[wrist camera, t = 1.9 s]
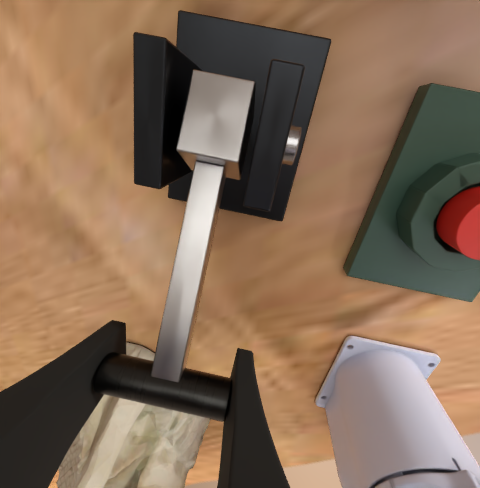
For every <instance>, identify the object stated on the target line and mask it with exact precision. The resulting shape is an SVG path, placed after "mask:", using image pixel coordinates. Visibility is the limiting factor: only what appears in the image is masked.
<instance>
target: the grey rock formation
mask: <svg viewBox="0 0 480 488" xmlns="http://www.w3.org/2000/svg"><path fill="white" fill-rule="evenodd" d="M126 355H130V356H134V357H138V358H143V359H147V360H152V361H154V357H155V353H153V352H152V351H150V350H148V349H146V348H144V347H142V346H140V345H136V344H132V343H129V342H126ZM210 420H211V419H209V418H204V417H200V416H196V415H191V414H187V413H183V412H178V411H174V410H169V409H165V408H161V407H156V406H152V405H148V404H143V403H139V402H135V401H130V400H126V399H122V398H117V397H113V396H109V395H104V396H103V397H102V399H101V400H100V402H99V403H98V405H97V406H96V408H95V409H94V411H93V412H92V414H91V415H90V417H89V418H88V420H87V421H86V423H85V424H84V426H83V427H82V429H81V430H80V432H79V433H78V435H77V437H76V438H75V440H74V442H73V443H72V445H71V447H70V448H69V450H68V452H67V454H66V455H65V457H64V459H63V461H62V463H61V465H60V466H59V468H58V470H59V472H60V473H59V478H58V481H57V486H58V488H184V487H185V480H186V477H187V473H188V471H189V469H191V468H193V466H194V464H195V462H196V458H197V454H198V451H199V446H200V445H201V444H202V440H203V436H204V433H205V430H206V429H207V427H208V424H209V421H210Z"/></svg>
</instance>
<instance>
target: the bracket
mask: <svg viewBox="0 0 480 488" xmlns="http://www.w3.org/2000/svg"><path fill="white" fill-rule="evenodd" d="M133 37H134V183H135V184H137V185H142V186H147V187H151V188H156V189H161V188H163V187H165V186H167V185H169V190H168V198H172V199H177V200H181V201H186V202H187V199H188V194H189V189H190V185H191V180H192V175H193V170H191V169H190V168H189V166H188V165H187V164H186V162H185V161H184V160H183V158H182V157H181V156H180V154H179V153H178V152H177V150H176V147H177V142H178V137H179V132H180V128H181V123H182V118H183V113H184V109H185V104H186V99H187V94H188V89H189V85H190V80H191V75H192V71H193V70H199V71H204V72H209V73H214V74H219V75H225V76H230V77H235V78H240V79H245V80H250V81H254V82H255V83H256V88H255V105H254V119H253V124H252V128H251V133H250V138H249V143H248V147H247V152H246V157H245V162H244V166H243V171H242V176H241V179H240V180H237V179H232V178H227V177H226V179H225V184H224V189H223V193H222V198H221V203H220V209H224V210H229V211H234V212H239V213H244V214H248V215H253V216H258V217H263V218H268V219H272V220H277V221H283V218H284V214H285V211H286V207H287V203H288V200H289V196H290V192H291V189H292V185H293V181H294V178H295V174H296V170H297V166H298V163H299V159H300V155H301V152H302V148H303V144H304V141H305V137H306V133H307V130H308V126H309V122H310V118H311V115H312V111H313V107H314V104H315V100H316V96H317V93H318V89H319V85H320V82H321V78H322V74H323V70H324V67H325V63H326V59H327V56H328V52H329V48H330V45H331V39H328V38H323V37H318V36H312V35H307V34H302V33H297V32H291V31H286V30H281V29H276V28H270V27H265V26H260V25H255V24H249V23H244V22H239V21H234V20H228V19H223V18H218V17H212V16H207V15H202V14H197V13H191V12H186V11H181V10H180V11H179V12H178V26H177V44H176V47H175V46H174V45H173V44H172V43H171V42H170V41H168V40H167V39H166V38H164V37H159V36H154V35H148V34H143V33H138V32H135V33H134V35H133Z"/></svg>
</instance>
